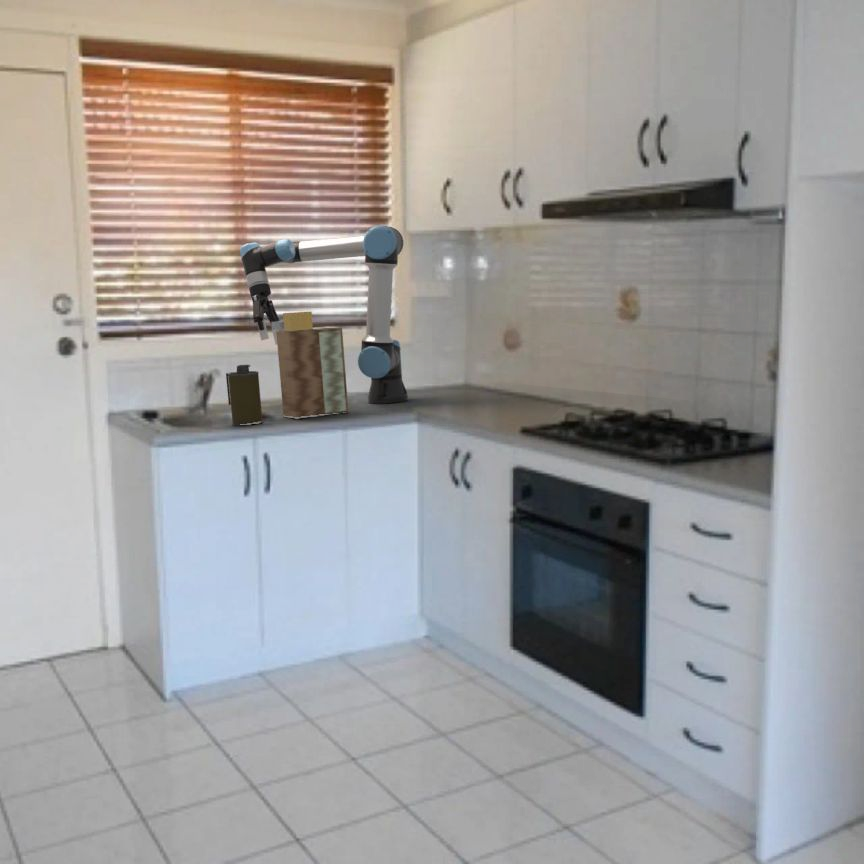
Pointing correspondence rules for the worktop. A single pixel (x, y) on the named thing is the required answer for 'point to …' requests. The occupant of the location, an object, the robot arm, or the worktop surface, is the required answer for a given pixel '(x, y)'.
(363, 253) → the robot arm
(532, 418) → the worktop surface
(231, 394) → the canister
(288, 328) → the handle bar
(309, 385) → the wood grain box
